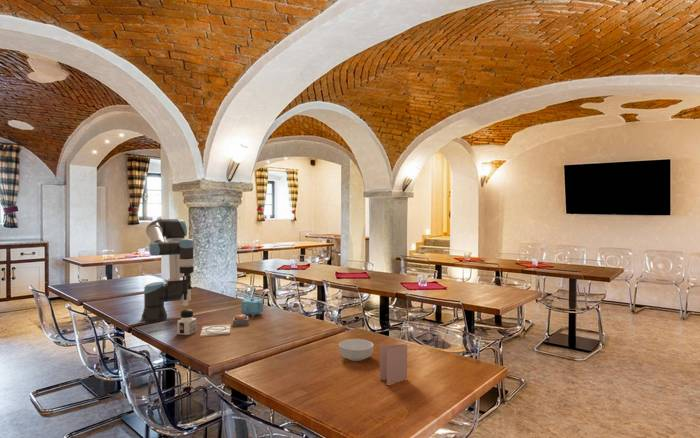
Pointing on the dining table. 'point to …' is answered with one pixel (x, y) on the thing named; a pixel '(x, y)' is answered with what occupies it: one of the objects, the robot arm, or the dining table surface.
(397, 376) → the greeting card
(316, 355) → the dining table surface
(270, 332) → the dining table surface
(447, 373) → the dining table surface
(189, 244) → the robot arm
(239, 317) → the button
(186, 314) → the container
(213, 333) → the drawing board
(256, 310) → the teapot
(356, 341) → the cereal bowl
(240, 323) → the button box
